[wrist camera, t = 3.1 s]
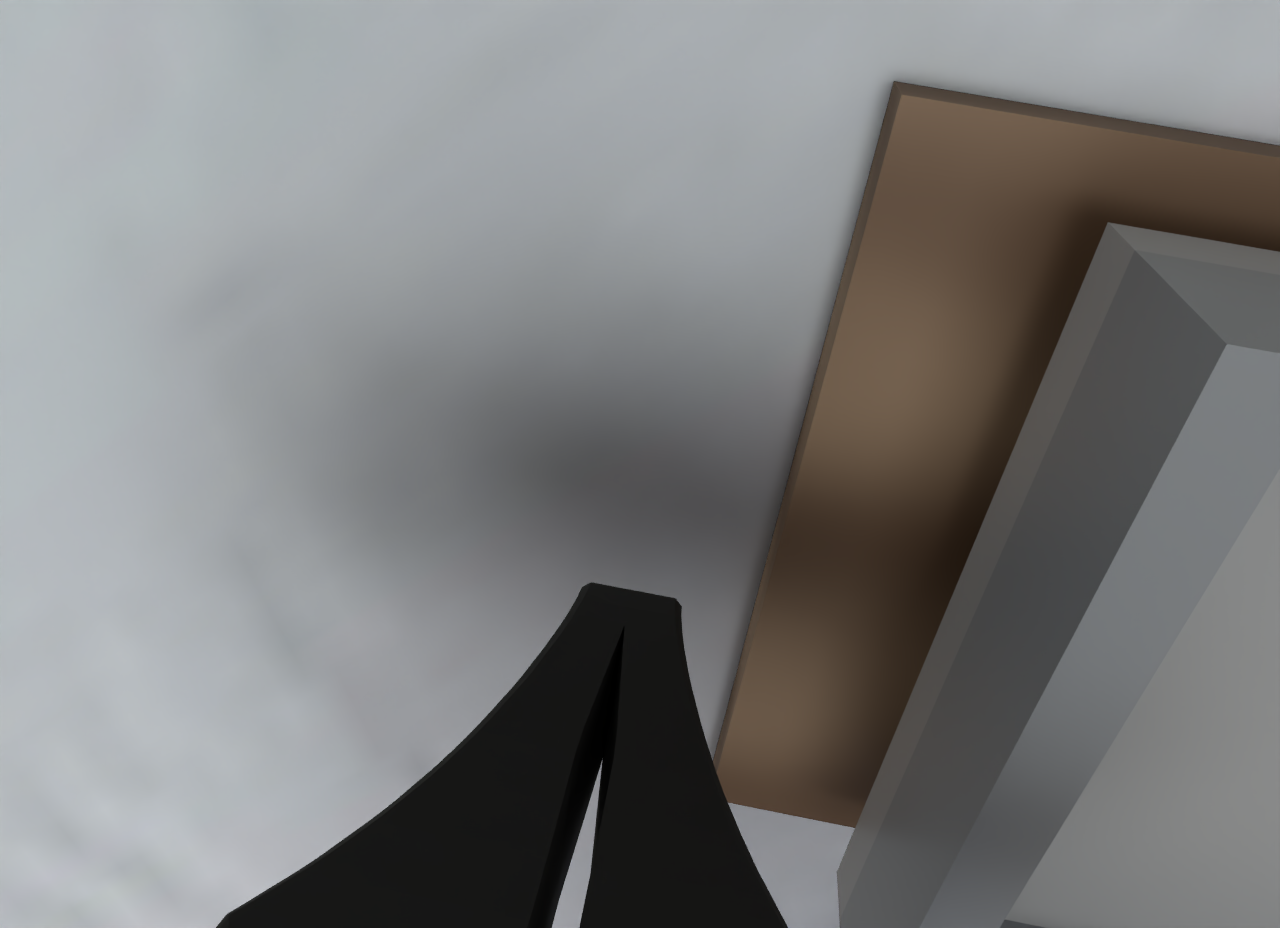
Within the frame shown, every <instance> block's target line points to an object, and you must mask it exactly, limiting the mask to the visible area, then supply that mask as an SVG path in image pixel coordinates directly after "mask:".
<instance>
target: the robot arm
mask: <svg viewBox="0 0 1280 928" xmlns="http://www.w3.org/2000/svg"><path fill="white" fill-rule="evenodd" d="M681 609H682V606H681V605H680V604H679V602H678V601H677V600H676V599H675V598H670V597H665V596H660V595H654V594H649V593H644V592H639V591H633V590H628V589H623V588H618V587H612V586H607V585H602V584H597V583H589V584H587V585H585V586H584V587H582V589H581V591H580V593H579V595H578V597H577V599H576V601H575V602H574V604H573V606H572V608H571V609H570V611H569V613H568V614H567V616H566V617H565V619H564V620H563V622H562V623H561V625H560V626H559V628H558V629H557V631H556V632H555V634H554V635H553V636H552V638H551V639H550V641H549V642H548V643H547V645H546V646H545V647H544V649H543V650H542V651H541V653H540V654H539V655H538V656H537V658H536V659H535V660H534V661H533V663H532V664H531V665H530V667H529V668H528V669H527V670H526V672H525V673H524V674H523V676H522V677H521V678H520V679H519V680H518V682H517V683H516V684H515V685H514V686H513V687H512V689H511V690H510V691H509V692H508V693H507V694H506V695H505V696H504V697H503V699H502V700H501V701H500V702H499V703H498V704H497V705H496V706H495V707H494V709H493V710H492V711H491V712H490V713H489V714H488V715H487V716H486V717H485V719H484V720H483V721H482V722H481V723H480V724H479V725H478V726H477V727H476V728H475V729H474V730H473V731H472V732H471V733H470V734H469V735H468V736H467V737H466V738H465V739H464V740H463V741H462V742H461V743H460V744H459V745H458V746H457V747H456V748H455V749H454V750H453V751H452V752H450V753H449V754H448V755H447V756H446V757H445V758H444V759H443V760H442V761H441V762H440V763H439V764H438V765H437V766H435V767H434V768H433V769H432V770H431V771H430V772H429V773H427V774H426V775H425V776H424V777H423V778H422V779H420V780H419V781H418V782H417V783H416V784H414V785H413V786H412V787H411V788H410V789H409V790H407V791H406V792H405V793H404V794H403V795H402V796H400V797H399V798H398V799H397V800H396V801H394V802H393V803H392V804H391V805H389V806H388V807H387V808H386V809H384V810H383V811H382V812H380V813H379V814H378V815H377V816H375V817H374V818H373V819H371V820H370V821H369V822H367V823H366V824H364V825H363V826H362V827H360V828H359V829H357V830H356V831H355V832H353V833H352V834H350V835H349V836H348V837H346V838H345V839H343V840H342V841H341V842H339V843H338V844H336V845H335V846H334V847H332V848H331V849H329V850H328V851H327V852H325V853H324V854H322V855H321V856H320V857H318V858H317V859H315V860H314V861H312V862H311V863H309V864H308V865H306V866H305V867H303V868H302V869H300V870H299V871H297V872H295V873H294V874H292V875H290V876H289V877H287V878H286V879H284V880H282V881H281V882H279V883H277V884H276V885H274V886H272V887H271V888H269V889H268V890H266V891H264V892H263V893H261V894H259V895H258V896H256V897H255V898H253V899H251V900H250V901H248V902H246V903H245V904H243V905H241V906H240V907H238V908H236V909H235V910H233V911H231V912H230V913H228V914H227V915H226V916H225V917H224V918H223V920H222V921H221V922H220V923H219V924H218V926H217V927H216V928H552V924H553V920H554V916H555V913H556V909H557V905H558V901H559V898H560V895H561V891H562V888H563V885H564V882H565V878H566V875H567V872H568V869H569V866H570V862H571V859H572V856H573V853H574V849H575V846H576V843H577V840H578V836H579V833H580V830H581V827H582V824H583V820H584V817H585V814H586V811H587V807H588V804H589V801H590V798H591V794H592V791H593V788H594V785H595V781H596V778H597V775H598V772H599V768H600V765H601V762H602V770H601V779H600V789H599V798H598V808H597V817H596V827H595V837H594V846H593V856H592V865H591V874H590V879H589V884H588V889H587V894H586V899H585V903H584V908H583V913H582V918H581V923H580V928H788V927H787V925H786V923H785V921H784V919H783V917H782V915H781V914H780V912H779V910H778V908H777V906H776V904H775V902H774V900H773V898H772V897H771V895H770V893H769V891H768V889H767V887H766V885H765V883H764V882H763V880H762V878H761V876H760V874H759V872H758V870H757V868H756V866H755V864H754V862H753V859H752V857H751V855H750V853H749V851H748V849H747V846H746V844H745V842H744V840H743V838H742V836H741V833H740V831H739V829H738V826H737V824H736V821H735V819H734V817H733V814H732V812H731V809H730V807H729V805H728V802H727V800H726V797H725V794H724V792H723V789H722V786H721V784H720V781H719V778H718V775H717V773H716V770H715V767H714V764H713V761H712V758H711V755H710V752H709V749H708V746H707V742H706V739H705V736H704V732H703V729H702V726H701V722H700V718H699V714H698V710H697V706H696V703H695V699H694V695H693V691H692V687H691V682H690V678H689V673H688V668H687V662H686V656H685V651H684V643H683V635H682V621H681ZM602 758H603V761H602Z"/></svg>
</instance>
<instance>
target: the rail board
mask: <svg viewBox="0 0 1280 928" xmlns="http://www.w3.org/2000/svg"><path fill="white" fill-rule="evenodd" d="M1108 222H1109V223H1115V224H1121V225H1126V226H1132V227H1138V228H1144V229H1150V230H1155V231H1161V232H1167V233H1173V234H1179V235H1185V236H1190V237H1196V238H1202V239H1208V240H1214V241H1220V242H1225V243H1231V244H1237V245H1243V246H1249V247H1255V248H1260V249H1266V250H1272V251H1278V252H1280V146H1278V145H1272V144H1266V143H1260V142H1254V141H1248V140H1242V139H1236V138H1230V137H1224V136H1218V135H1212V134H1206V133H1200V132H1194V131H1188V130H1182V129H1176V128H1170V127H1164V126H1158V125H1152V124H1146V123H1140V122H1134V121H1128V120H1122V119H1116V118H1110V117H1104V116H1098V115H1092V114H1086V113H1080V112H1074V111H1068V110H1062V109H1056V108H1050V107H1044V106H1038V105H1032V104H1026V103H1020V102H1014V101H1008V100H1002V99H996V98H990V97H984V96H978V95H972V94H966V93H960V92H954V91H948V90H942V89H936V88H930V87H925V86H919V85H913V84H907V83H901V82H895V81H894V83H893V87H892V91H891V94H890V98H889V102H888V106H887V109H886V113H885V117H884V121H883V124H882V128H881V132H880V136H879V139H878V143H877V147H876V151H875V154H874V158H873V162H872V166H871V170H870V173H869V177H868V181H867V185H866V188H865V192H864V196H863V200H862V203H861V207H860V211H859V215H858V218H857V222H856V226H855V230H854V233H853V237H852V241H851V245H850V248H849V252H848V256H847V260H846V263H845V267H844V271H843V275H842V278H841V282H840V286H839V290H838V293H837V297H836V301H835V305H834V308H833V312H832V316H831V320H830V324H829V327H828V331H827V335H826V339H825V342H824V346H823V350H822V354H821V357H820V361H819V365H818V369H817V372H816V376H815V380H814V384H813V387H812V391H811V395H810V399H809V402H808V406H807V410H806V414H805V417H804V421H803V425H802V429H801V432H800V436H799V440H798V444H797V447H796V451H795V455H794V459H793V462H792V466H791V470H790V474H789V478H788V481H787V485H786V489H785V493H784V496H783V500H782V504H781V508H780V511H779V515H778V519H777V523H776V526H775V530H774V534H773V538H772V541H771V545H770V549H769V553H768V556H767V560H766V564H765V568H764V571H763V575H762V579H761V583H760V586H759V590H758V594H757V598H756V601H755V605H754V609H753V613H752V617H751V620H750V624H749V628H748V632H747V635H746V639H745V643H744V647H743V650H742V654H741V658H740V662H739V665H738V669H737V673H736V677H735V680H734V684H733V688H732V692H731V695H730V699H729V703H728V707H727V710H726V714H725V718H724V722H723V725H722V729H721V733H720V737H719V740H718V744H717V748H716V752H715V755H714V759H713V764H714V767H715V770H716V773H717V775H718V778H719V781H720V784H721V786H722V789H723V792H724V794H725V797H726V800H727V802H728V803H733V804H738V805H743V806H748V807H753V808H758V809H763V810H768V811H773V812H778V813H783V814H788V815H793V816H798V817H803V818H808V819H813V820H818V821H823V822H828V823H833V824H838V825H843V826H848V827H853V828H855V827H856V825H857V823H858V820H859V818H860V815H861V813H862V811H863V808H864V806H865V803H866V801H867V799H868V796H869V794H870V791H871V789H872V787H873V784H874V782H875V780H876V777H877V775H878V772H879V770H880V768H881V765H882V763H883V760H884V758H885V756H886V753H887V751H888V748H889V746H890V744H891V741H892V739H893V736H894V734H895V732H896V729H897V727H898V724H899V722H900V720H901V717H902V715H903V712H904V710H905V708H906V705H907V703H908V700H909V698H910V696H911V693H912V691H913V688H914V686H915V684H916V681H917V679H918V676H919V674H920V672H921V669H922V667H923V664H924V662H925V660H926V657H927V655H928V652H929V650H930V648H931V645H932V643H933V640H934V638H935V636H936V633H937V631H938V628H939V626H940V624H941V621H942V619H943V616H944V614H945V612H946V609H947V607H948V604H949V602H950V600H951V597H952V595H953V592H954V590H955V588H956V585H957V583H958V580H959V578H960V576H961V573H962V571H963V568H964V566H965V564H966V561H967V559H968V556H969V554H970V552H971V549H972V547H973V545H974V542H975V540H976V537H977V535H978V533H979V530H980V528H981V525H982V523H983V521H984V518H985V516H986V513H987V511H988V509H989V506H990V504H991V501H992V499H993V497H994V494H995V492H996V489H997V487H998V485H999V482H1000V480H1001V477H1002V475H1003V473H1004V470H1005V468H1006V465H1007V463H1008V461H1009V458H1010V456H1011V453H1012V451H1013V449H1014V446H1015V444H1016V441H1017V439H1018V437H1019V434H1020V432H1021V429H1022V427H1023V425H1024V422H1025V420H1026V417H1027V415H1028V413H1029V410H1030V408H1031V405H1032V403H1033V401H1034V398H1035V396H1036V393H1037V391H1038V389H1039V386H1040V384H1041V381H1042V379H1043V377H1044V374H1045V372H1046V369H1047V367H1048V365H1049V362H1050V360H1051V357H1052V355H1053V353H1054V350H1055V348H1056V345H1057V343H1058V341H1059V338H1060V336H1061V333H1062V331H1063V329H1064V326H1065V324H1066V322H1067V319H1068V317H1069V314H1070V312H1071V310H1072V307H1073V305H1074V302H1075V300H1076V298H1077V295H1078V293H1079V290H1080V288H1081V286H1082V283H1083V281H1084V278H1085V276H1086V274H1087V271H1088V269H1089V266H1090V264H1091V262H1092V259H1093V257H1094V254H1095V252H1096V250H1097V247H1098V245H1099V242H1100V240H1101V238H1102V235H1103V233H1104V230H1105V228H1106V226H1107V223H1108Z"/></svg>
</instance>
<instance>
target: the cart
mask: <svg viewBox="0 0 1280 928" xmlns="http://www.w3.org/2000/svg"><path fill="white" fill-rule="evenodd" d="M837 882H838V900H839V919H840V928H1280V252H1278V251H1272V250H1266V249H1260V248H1255V247H1249V246H1243V245H1237V244H1231V243H1225V242H1220V241H1214V240H1208V239H1202V238H1196V237H1190V236H1185V235H1179V234H1173V233H1167V232H1161V231H1155V230H1150V229H1144V228H1138V227H1132V226H1126V225H1121V224H1115V223H1109V222H1108V223H1107V226H1106V228H1105V230H1104V233H1103V235H1102V238H1101V240H1100V242H1099V245H1098V247H1097V250H1096V252H1095V254H1094V257H1093V259H1092V262H1091V264H1090V266H1089V269H1088V271H1087V274H1086V276H1085V278H1084V281H1083V283H1082V286H1081V288H1080V290H1079V293H1078V295H1077V298H1076V300H1075V302H1074V305H1073V307H1072V310H1071V312H1070V314H1069V317H1068V319H1067V322H1066V324H1065V326H1064V329H1063V331H1062V333H1061V336H1060V338H1059V341H1058V343H1057V345H1056V348H1055V350H1054V353H1053V355H1052V357H1051V360H1050V362H1049V365H1048V367H1047V369H1046V372H1045V374H1044V377H1043V379H1042V381H1041V384H1040V386H1039V389H1038V391H1037V393H1036V396H1035V398H1034V401H1033V403H1032V405H1031V408H1030V410H1029V413H1028V415H1027V417H1026V420H1025V422H1024V425H1023V427H1022V429H1021V432H1020V434H1019V437H1018V439H1017V441H1016V444H1015V446H1014V449H1013V451H1012V453H1011V456H1010V458H1009V461H1008V463H1007V465H1006V468H1005V470H1004V473H1003V475H1002V477H1001V480H1000V482H999V485H998V487H997V489H996V492H995V494H994V497H993V499H992V501H991V504H990V506H989V509H988V511H987V513H986V516H985V518H984V521H983V523H982V525H981V528H980V530H979V533H978V535H977V537H976V540H975V542H974V545H973V547H972V549H971V552H970V554H969V556H968V559H967V561H966V564H965V566H964V568H963V571H962V573H961V576H960V578H959V580H958V583H957V585H956V588H955V590H954V592H953V595H952V597H951V600H950V602H949V604H948V607H947V609H946V612H945V614H944V616H943V619H942V621H941V624H940V626H939V628H938V631H937V633H936V636H935V638H934V640H933V643H932V645H931V648H930V650H929V652H928V655H927V657H926V660H925V662H924V664H923V667H922V669H921V672H920V674H919V676H918V679H917V681H916V684H915V686H914V688H913V691H912V693H911V696H910V698H909V700H908V703H907V705H906V708H905V710H904V712H903V715H902V717H901V720H900V722H899V724H898V727H897V729H896V732H895V734H894V736H893V739H892V741H891V744H890V746H889V748H888V751H887V753H886V756H885V758H884V760H883V763H882V765H881V768H880V770H879V772H878V775H877V777H876V780H875V782H874V784H873V787H872V789H871V791H870V794H869V796H868V799H867V801H866V803H865V806H864V808H863V811H862V813H861V815H860V818H859V820H858V823H857V825H856V827H855V830H854V832H853V835H852V837H851V839H850V842H849V844H848V847H847V849H846V851H845V854H844V856H843V859H842V861H841V863H840V866H839V868H838V871H837Z"/></svg>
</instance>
